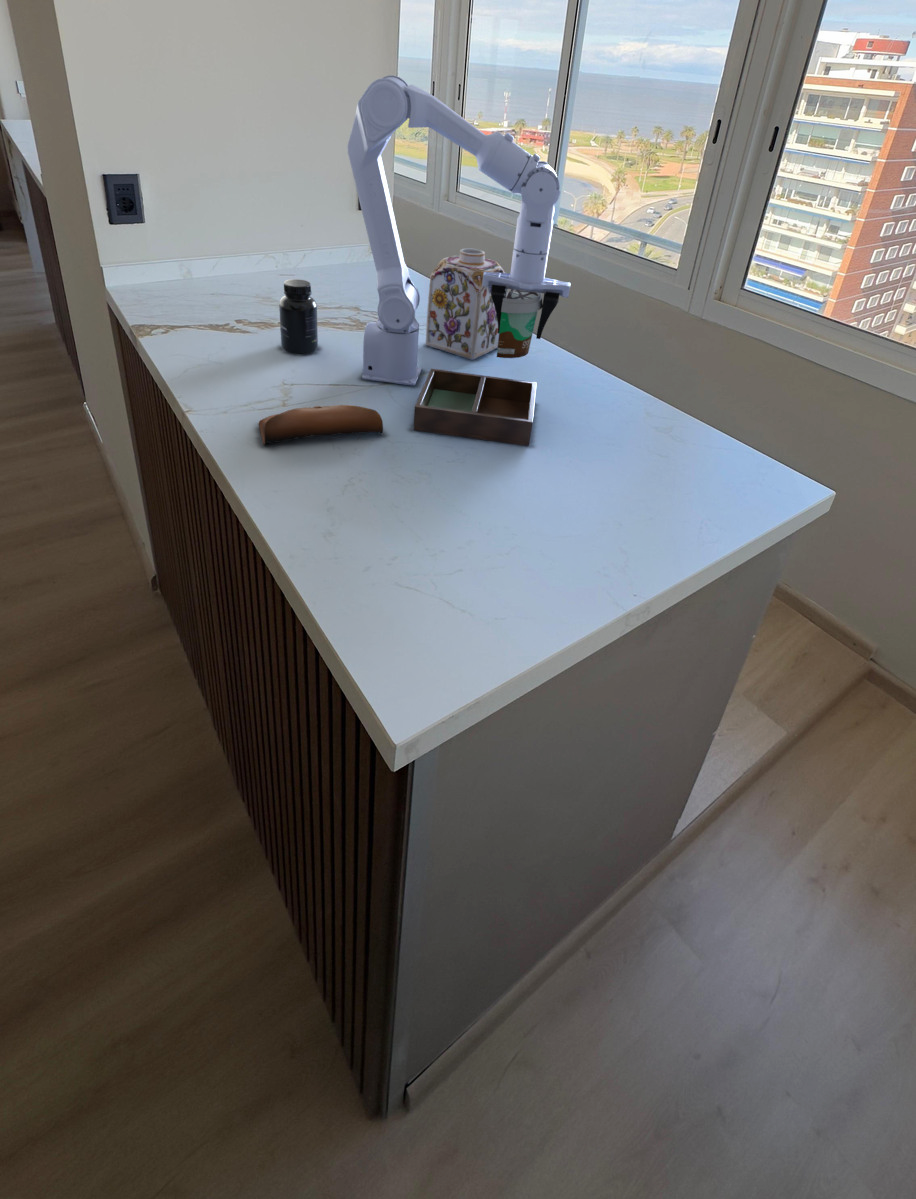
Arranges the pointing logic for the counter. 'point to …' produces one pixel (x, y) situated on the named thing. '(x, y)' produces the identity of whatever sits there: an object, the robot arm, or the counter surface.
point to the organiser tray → (476, 407)
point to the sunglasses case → (319, 422)
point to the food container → (517, 323)
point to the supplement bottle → (298, 318)
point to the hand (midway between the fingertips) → (519, 334)
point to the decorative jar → (462, 306)
